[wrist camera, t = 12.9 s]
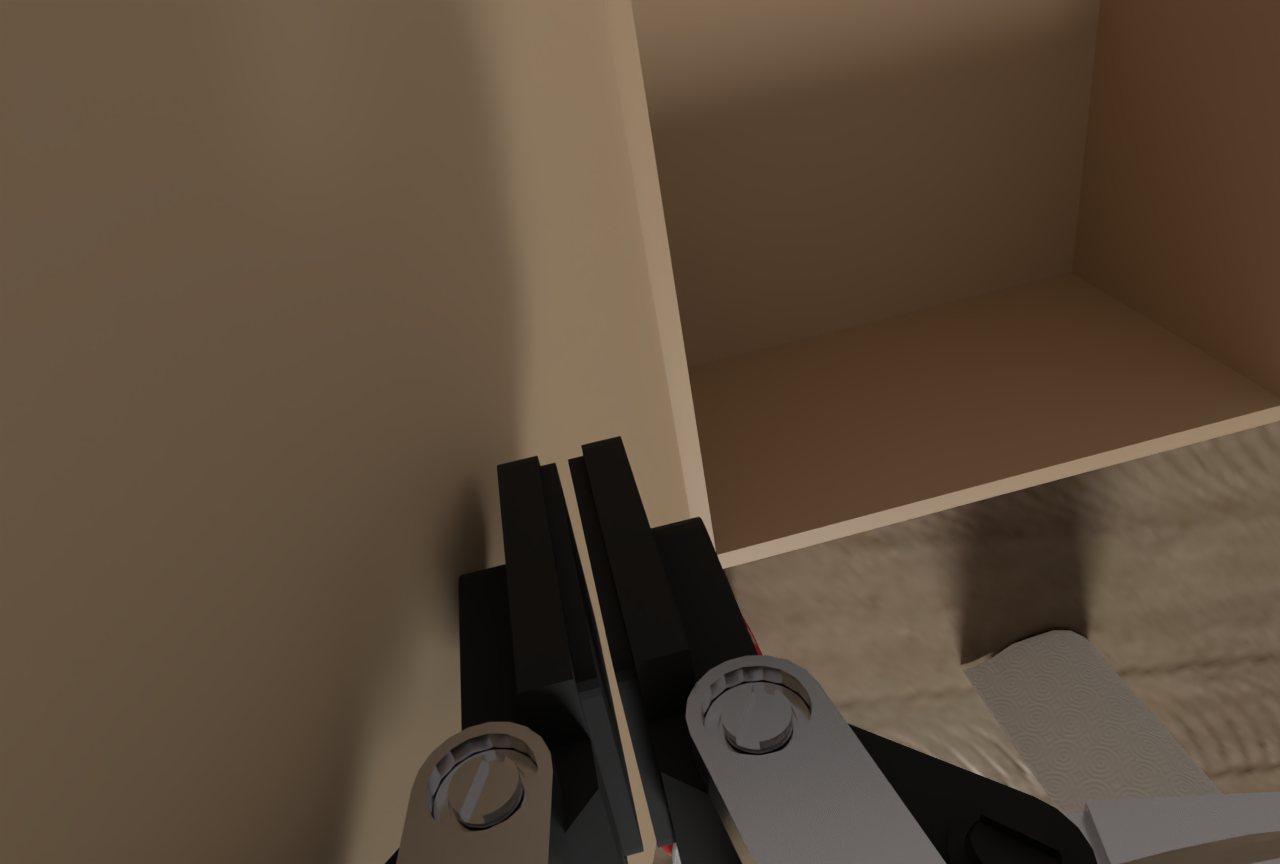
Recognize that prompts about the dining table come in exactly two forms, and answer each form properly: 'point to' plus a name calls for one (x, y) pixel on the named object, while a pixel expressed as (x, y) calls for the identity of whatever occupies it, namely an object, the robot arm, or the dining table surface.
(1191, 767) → the paper towel roll
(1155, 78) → the carton
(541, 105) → the lid
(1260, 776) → the dining table surface
